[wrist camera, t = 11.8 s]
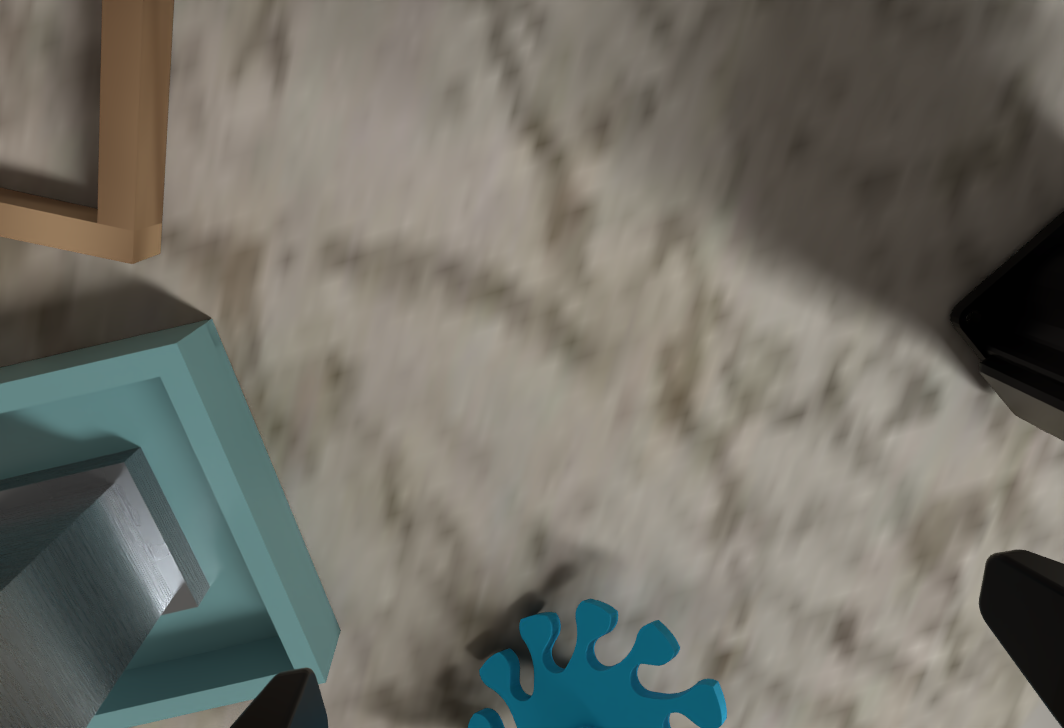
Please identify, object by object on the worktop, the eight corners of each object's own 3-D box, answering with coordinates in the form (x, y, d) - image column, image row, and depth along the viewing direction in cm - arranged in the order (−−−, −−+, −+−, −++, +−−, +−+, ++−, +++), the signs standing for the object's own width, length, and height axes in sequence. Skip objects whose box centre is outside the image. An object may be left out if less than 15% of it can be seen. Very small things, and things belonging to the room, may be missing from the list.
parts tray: (211, 318, 19) (176, 343, 17) (340, 630, 24) (325, 682, 22) (-182, 409, 20) (-268, 445, 17) (18, 703, 24) (-31, 763, 22)
